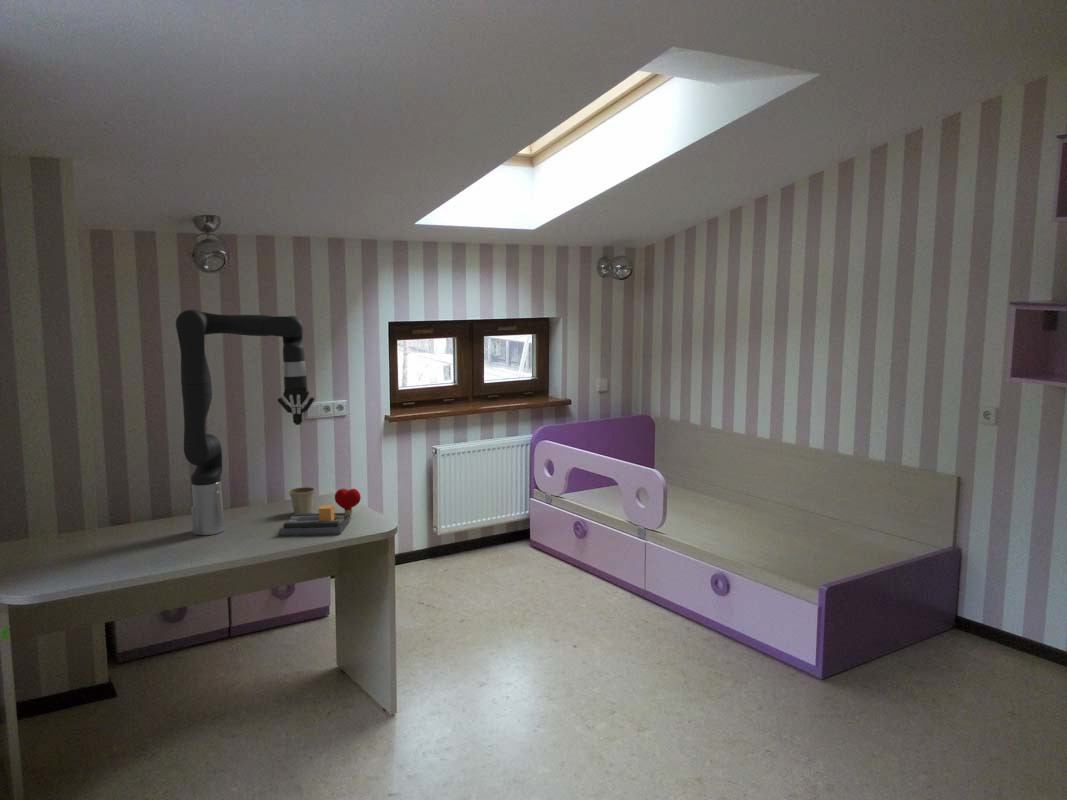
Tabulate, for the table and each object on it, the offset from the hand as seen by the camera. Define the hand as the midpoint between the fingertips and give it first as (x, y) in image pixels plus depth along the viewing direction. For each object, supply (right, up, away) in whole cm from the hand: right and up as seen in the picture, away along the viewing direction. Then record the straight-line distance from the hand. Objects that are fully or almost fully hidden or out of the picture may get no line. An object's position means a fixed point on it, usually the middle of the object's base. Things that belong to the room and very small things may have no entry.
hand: (298, 424), depth 281 cm
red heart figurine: (+15, -34, +12) cm, 39 cm away
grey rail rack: (+7, -33, -3) cm, 34 cm away
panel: (+7, -36, -3) cm, 36 cm away
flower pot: (-3, -33, +18) cm, 38 cm away
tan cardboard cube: (+11, -33, -3) cm, 35 cm away
